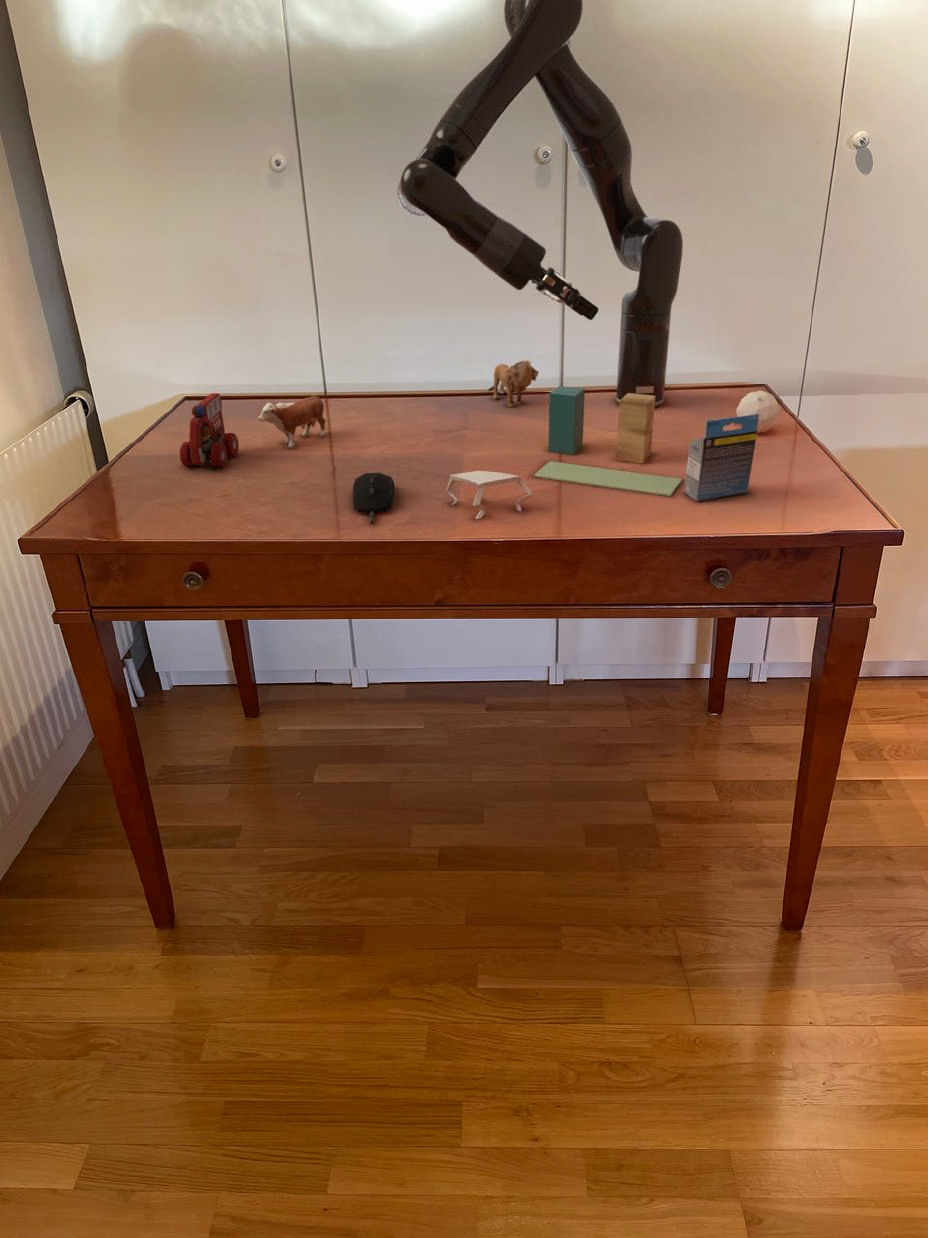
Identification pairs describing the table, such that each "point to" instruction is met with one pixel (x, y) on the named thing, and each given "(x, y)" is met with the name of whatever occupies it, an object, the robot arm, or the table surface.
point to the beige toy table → (485, 485)
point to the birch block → (635, 427)
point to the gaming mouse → (373, 493)
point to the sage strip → (609, 478)
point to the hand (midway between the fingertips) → (590, 312)
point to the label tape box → (721, 459)
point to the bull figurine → (295, 416)
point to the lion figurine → (513, 380)
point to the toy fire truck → (208, 435)
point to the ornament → (760, 409)
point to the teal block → (566, 419)
